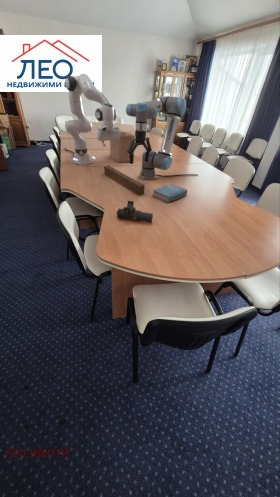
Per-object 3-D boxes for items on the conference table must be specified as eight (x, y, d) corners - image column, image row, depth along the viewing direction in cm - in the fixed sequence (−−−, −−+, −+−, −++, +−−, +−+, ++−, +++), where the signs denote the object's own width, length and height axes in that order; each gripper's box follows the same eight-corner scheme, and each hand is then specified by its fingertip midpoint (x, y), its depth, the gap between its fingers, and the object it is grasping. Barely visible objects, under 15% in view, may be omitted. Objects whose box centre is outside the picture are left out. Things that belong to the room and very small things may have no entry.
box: (144, 162, 244) (146, 135, 228) (114, 165, 229) (114, 136, 213) (127, 152, 274) (128, 128, 258) (100, 154, 260) (99, 128, 243)
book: (170, 189, 184) (171, 183, 181) (186, 195, 175) (187, 189, 172) (152, 196, 171) (152, 189, 168) (168, 203, 162) (169, 196, 159)
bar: (144, 194, 173) (144, 185, 168) (139, 195, 170) (139, 186, 166) (108, 173, 208) (108, 165, 204) (104, 174, 206) (104, 166, 201)
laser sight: (150, 226, 134) (151, 211, 128) (114, 220, 137) (114, 205, 131) (152, 218, 142) (154, 204, 136) (119, 213, 144) (119, 199, 139)
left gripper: (117, 126, 187) (117, 144, 195) (95, 127, 177) (96, 146, 185) (121, 127, 183) (121, 145, 191) (99, 128, 173) (100, 147, 181)
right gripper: (151, 128, 157) (149, 159, 170) (122, 129, 145) (121, 163, 158) (158, 130, 153) (155, 161, 165) (128, 131, 140) (127, 165, 153)
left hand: (109, 145), depth 188 cm, fingers open, 8 cm apart
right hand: (139, 162), depth 161 cm, fingers open, 13 cm apart
